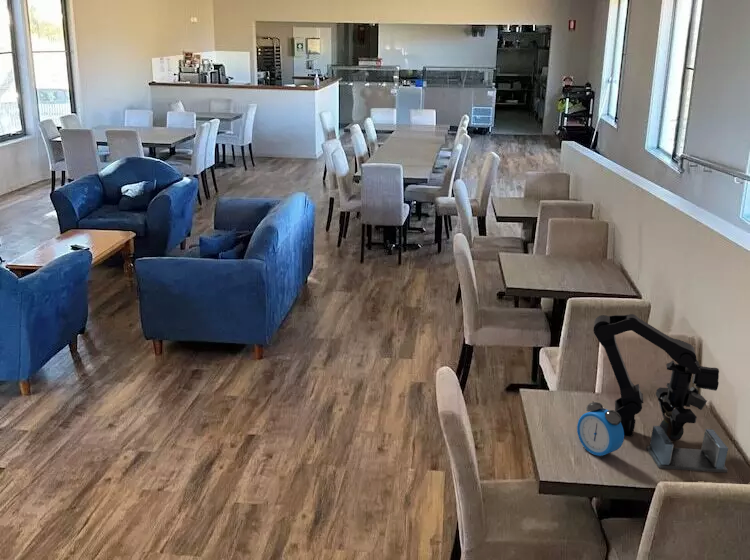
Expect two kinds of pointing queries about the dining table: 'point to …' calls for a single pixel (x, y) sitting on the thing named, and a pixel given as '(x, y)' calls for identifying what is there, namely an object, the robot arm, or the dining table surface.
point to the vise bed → (698, 456)
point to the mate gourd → (670, 427)
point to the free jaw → (661, 445)
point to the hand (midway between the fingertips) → (670, 429)
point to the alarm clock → (600, 430)
